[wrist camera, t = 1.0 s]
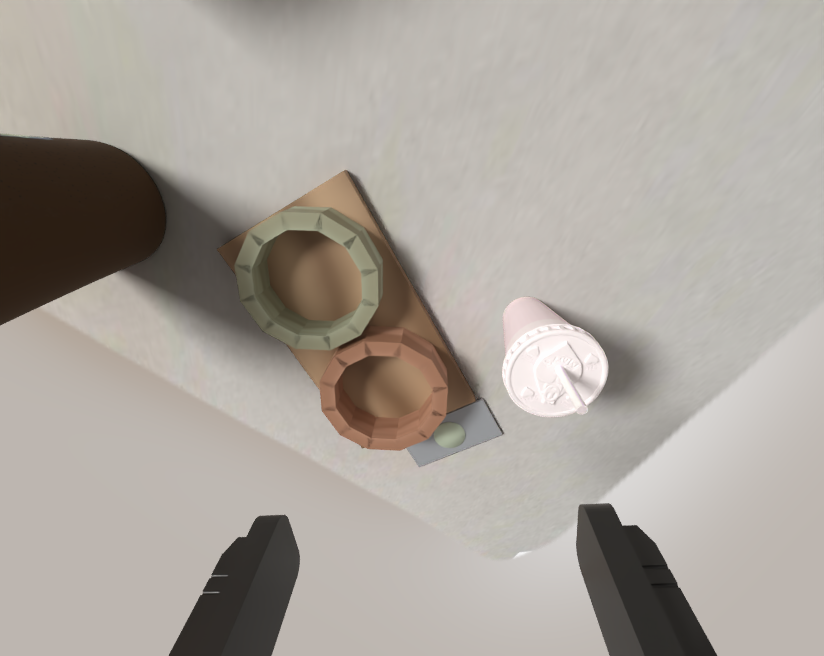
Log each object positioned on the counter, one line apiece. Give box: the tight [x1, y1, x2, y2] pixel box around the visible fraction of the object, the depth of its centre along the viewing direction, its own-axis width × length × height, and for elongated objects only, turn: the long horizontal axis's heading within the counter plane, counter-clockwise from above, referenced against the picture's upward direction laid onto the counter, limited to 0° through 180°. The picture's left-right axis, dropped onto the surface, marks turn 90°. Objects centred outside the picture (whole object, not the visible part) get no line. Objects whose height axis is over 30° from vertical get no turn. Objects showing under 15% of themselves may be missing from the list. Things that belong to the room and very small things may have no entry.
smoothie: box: [502, 297, 608, 417], centre depth 28 cm, size 6×6×14 cm
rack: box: [217, 170, 476, 451], centre depth 33 cm, size 12×22×4 cm, turn 29°
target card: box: [407, 398, 502, 467], centre depth 39 cm, size 9×4×1 cm, turn 119°
